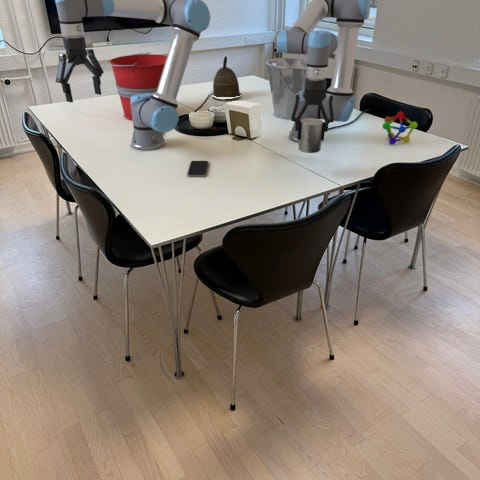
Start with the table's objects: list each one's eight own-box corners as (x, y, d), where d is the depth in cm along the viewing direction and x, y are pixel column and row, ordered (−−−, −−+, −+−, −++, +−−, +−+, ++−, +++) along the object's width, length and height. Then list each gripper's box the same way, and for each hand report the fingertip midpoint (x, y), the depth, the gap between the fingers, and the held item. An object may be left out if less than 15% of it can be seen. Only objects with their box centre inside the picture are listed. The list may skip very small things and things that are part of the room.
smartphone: (187, 174, 176) (191, 160, 188) (187, 176, 176) (191, 162, 189) (205, 175, 176) (208, 160, 188) (205, 176, 176) (208, 162, 189)
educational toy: (377, 146, 209) (379, 114, 202) (384, 138, 219) (386, 107, 211) (411, 149, 202) (415, 116, 195) (417, 141, 212) (420, 109, 204)
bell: (227, 105, 294) (202, 96, 282) (238, 66, 289) (213, 55, 277) (243, 108, 280) (217, 98, 268) (255, 66, 275) (229, 55, 263)
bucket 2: (291, 125, 232) (295, 70, 217) (253, 113, 251) (254, 61, 236) (327, 115, 249) (333, 62, 234) (289, 104, 267) (292, 55, 253)
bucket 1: (123, 105, 263) (116, 51, 247) (182, 106, 262) (179, 52, 247) (107, 123, 234) (97, 63, 218) (173, 124, 233) (168, 64, 217)
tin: (296, 151, 171) (298, 123, 165) (300, 144, 177) (303, 117, 172) (318, 154, 168) (321, 126, 163) (322, 146, 175) (325, 119, 169)
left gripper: (50, 41, 145) (63, 106, 157) (107, 33, 163) (115, 92, 174) (36, 39, 149) (50, 103, 160) (93, 32, 167) (102, 89, 178)
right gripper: (285, 79, 156) (282, 141, 169) (347, 81, 154) (339, 143, 167) (286, 75, 163) (283, 134, 175) (345, 76, 161) (337, 137, 173)
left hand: (84, 97), depth 167 cm, fingers open, 13 cm apart
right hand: (310, 139), depth 171 cm, fingers closed on tin, 8 cm apart
